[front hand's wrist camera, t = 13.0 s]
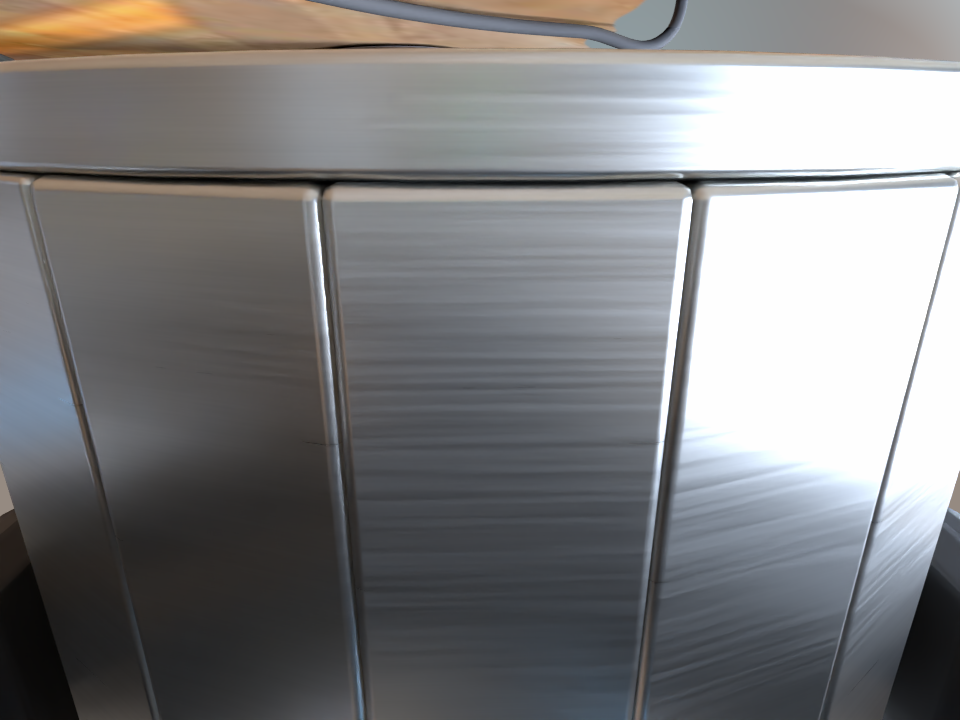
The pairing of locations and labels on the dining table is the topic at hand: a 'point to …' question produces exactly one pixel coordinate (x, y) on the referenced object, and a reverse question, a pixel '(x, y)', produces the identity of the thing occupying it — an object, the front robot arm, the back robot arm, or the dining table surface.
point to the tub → (480, 377)
